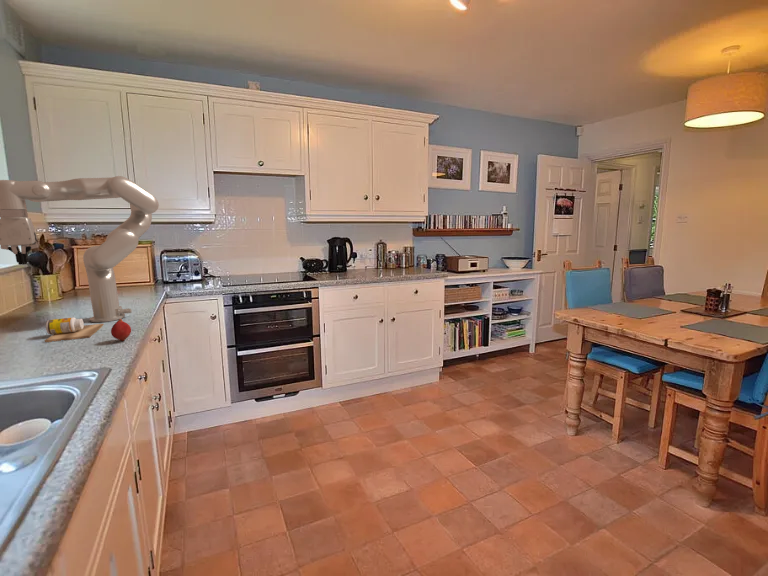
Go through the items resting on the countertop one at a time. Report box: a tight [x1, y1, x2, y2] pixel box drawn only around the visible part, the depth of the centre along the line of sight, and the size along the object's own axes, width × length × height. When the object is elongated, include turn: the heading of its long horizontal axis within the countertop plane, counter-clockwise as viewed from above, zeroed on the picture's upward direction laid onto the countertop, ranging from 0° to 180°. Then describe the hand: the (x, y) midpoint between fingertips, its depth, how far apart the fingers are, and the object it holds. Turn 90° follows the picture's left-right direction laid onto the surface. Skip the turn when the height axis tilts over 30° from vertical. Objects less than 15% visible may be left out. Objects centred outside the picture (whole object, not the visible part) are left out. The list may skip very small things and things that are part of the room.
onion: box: [110, 318, 132, 342], centre depth 136 cm, size 6×6×8 cm
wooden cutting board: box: [44, 323, 104, 343], centre depth 147 cm, size 13×18×1 cm
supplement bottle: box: [45, 317, 85, 336], centre depth 145 cm, size 6×6×10 cm
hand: (23, 264), depth 146 cm, fingers closed
